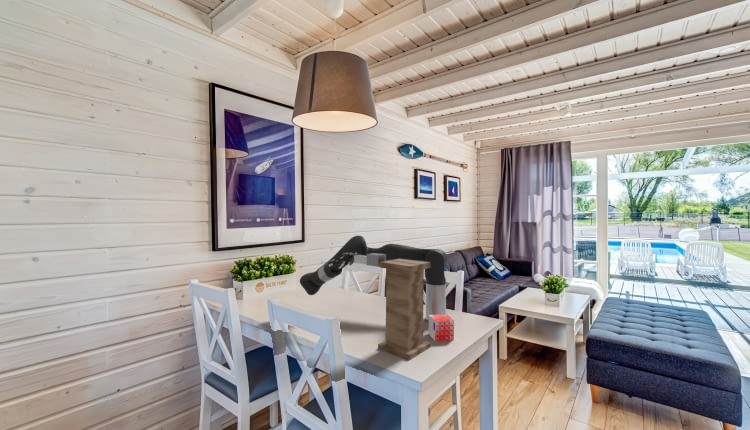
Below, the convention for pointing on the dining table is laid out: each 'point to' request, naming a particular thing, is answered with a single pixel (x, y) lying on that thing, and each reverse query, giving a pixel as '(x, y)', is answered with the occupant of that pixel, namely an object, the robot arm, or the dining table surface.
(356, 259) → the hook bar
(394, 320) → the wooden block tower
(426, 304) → the robot arm
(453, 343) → the dining table surface
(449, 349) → the dining table surface
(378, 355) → the dining table surface
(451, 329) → the puzzle cube
